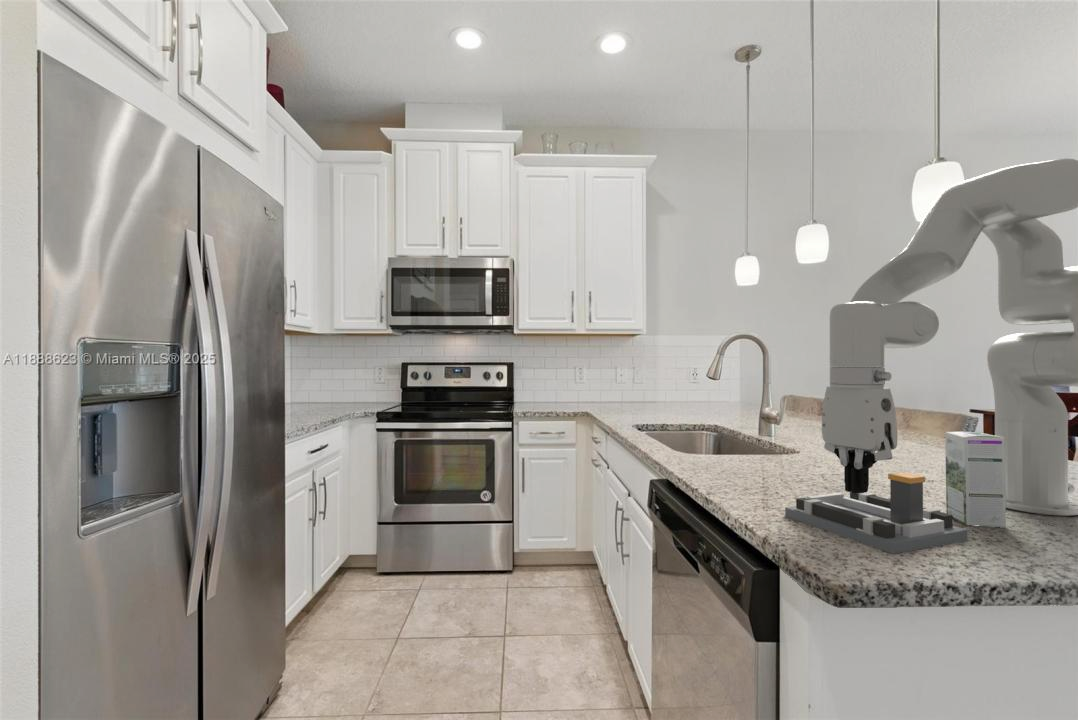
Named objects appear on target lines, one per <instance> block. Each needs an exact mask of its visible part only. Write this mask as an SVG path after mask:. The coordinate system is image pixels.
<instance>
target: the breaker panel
mask: <svg viewBox="0 0 1078 720" xmlns="http://www.w3.org/2000/svg"><path fill="white" fill-rule="evenodd" d="M806 498H807V499H810V500H813V499H817V500H821V501H822V503H824V504H827V505H831V506H834V507H838V508H841V509H844V510H848V511H851V512H855V513H858V514H861V515H865V516H868V517H875V516H876V517H879V518H883V519H884V521H885V522H889V523H892V524H895V537H894V538H888V539H885V538H882V537H879V536H876V535H874V533H872V535H870V534H867V533H864V532H863V530H862V529H859V528H856V529H855V528H852V527H849V526H846V525H842V524H839V523H836V522H833V521H830V520H827V519H824V518H821V517H818V516H815V515H809V514H806V513H804V511H803V510H800V509H797V508H796V505H794V506H787V507H785V508H784V509H785V511H784V513H785V514H784V515H785V517H787V518H788V519H791V520H795V521H798V522H800V523H802V524H806V525H809V526H811V527H814V528H818V529H820V530H822V531H825V532H828V531H829V533H831V534H834V533H835V535H837V536H839V537H840V536H841V537H843V538H845V539H848V538H849V540H851V539H852V541H855V542H857V541H858V543H859V544H863V545H865V546H869V547H871V546H872V547H871V548H874V547H875V548H874V549H877V548H878V549H877V550H880V551H884V552H886V553H889V554H891V555H896V554H901V553H907V552H911V551H912V552H913V551H917V550H922V549H928V548H933V547H937V546H938V547H939V546H943V545H947V544H953V543H954V544H955V543H959V542H964V541H963V540H965V541H968V540H969V537H968V534H969V532H968V531H969V530H968V529H966V528H963V527H960V526H956V525H953V527H951V528H944V521H943V520H940V519H932V520H929V519H926V518H923V521H920V522H914V523H908V524H903V525H901V524H898V523H894V522H891V518H890V509H888V508H885V507H881V506H877V505H873V504H870V503H866V502H862V501H859V500H855V499H851V498H850V497H847V496H844V493H840V492H833V493H828V494H818V495H810V496H809V495H808V496H806ZM967 539H968V540H967Z"/></svg>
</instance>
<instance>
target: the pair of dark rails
mask: <svg viewBox="0 0 1078 720" xmlns="http://www.w3.org/2000/svg"><path fill="white" fill-rule="evenodd" d="M849 498H851V499H855V500H859V501H862V502H866V503H870V504H873V505H877V506H881V507H885V508H888V509H890V498H886V497H882V496H878V495H877V494H876V493H874V492H870V491H869V492H864V493H857V494H855V493H852V492H849ZM795 501H796V502H795V504H796V505H795V506H796V508H797V509H800V510H803V511H804V513H806V514H809V515H815V516H818V517H821V518H824V519H827V520H830V521H833V522H836V523H839V524H842V525H846V526H849V527H852V528H855V529H856V528H859V529H862V530H863V532H864V533H867V534H870V535H872V533H874V535H876V536H879V537H882V538H885V539H888V538H894V537H895V524H892V523H889V522H885V521H884V519H883V518H879V517H876V516H875V517H868V516H865V515H861V514H858V513H855V512H851V511H848V510H844V509H841V508H838V507H834V506H831V505H827V504H824V503H822V501H821V500H817V499H813V500H810V499H807V497H799V498H798V497H797V498H795ZM923 518H926V519H929V520H932V519H940V520H943V521H944V528H951V527H953V526H954V525H953V524H954V523H953V521H954V519H953V515H950V514H947V513H946V512H942V511H941V509H938V508H934V507H929V508H926V507H923Z"/></svg>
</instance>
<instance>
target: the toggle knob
mask: <svg viewBox="0 0 1078 720" xmlns="http://www.w3.org/2000/svg"><path fill="white" fill-rule="evenodd" d="M887 479H888V480H890V488H889V489H890V493H889V494H890V495H889V496H890V497H889V499H890V518H891V522H894V523H898V524H901V525H903V524H908V523H914V522H920V521H923V508H924V487H923V486H924V483H926V476H924V475H921V474H920V475H918V474H915V473H909V472H904V471H900V472H891V473H887Z"/></svg>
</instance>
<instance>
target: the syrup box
mask: <svg viewBox="0 0 1078 720" xmlns="http://www.w3.org/2000/svg"><path fill="white" fill-rule="evenodd" d="M944 435H945V436H944V441H945V454H944V455H945V500H946V501H945V503H946V505H945V506H946V507H945V509H946V512H945V513H946V514H950V515H953V518H954V519H953V520H954V521H955V520H956V521H958V522H959V521H960V522H959V523H962V524H963V523H964V525H965V524H966V525H965V526H969V525H979V526H991V527H990V528H995V527H1000V528H1001V529H1002V528H1003V529H1006V528H1007V515H1006V513H1007V511H1006V510H1007V508H1006V499H1005V451H1004V437H1000V436H995V434H994V435H993V434H989V433H983V432H977V431H964V430H963V431H945V433H944Z"/></svg>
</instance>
